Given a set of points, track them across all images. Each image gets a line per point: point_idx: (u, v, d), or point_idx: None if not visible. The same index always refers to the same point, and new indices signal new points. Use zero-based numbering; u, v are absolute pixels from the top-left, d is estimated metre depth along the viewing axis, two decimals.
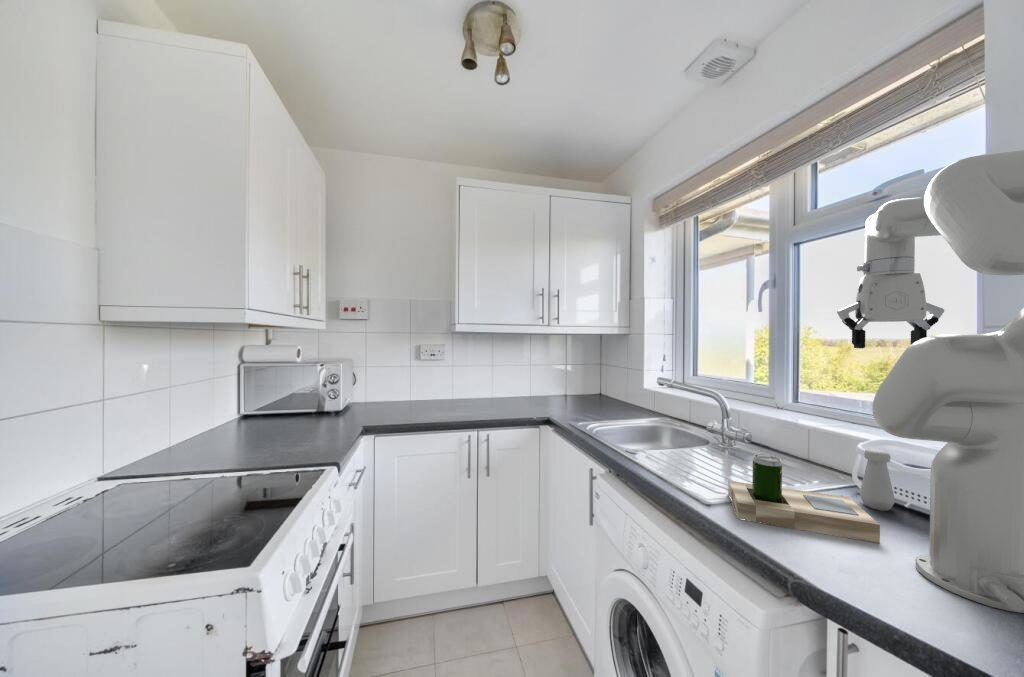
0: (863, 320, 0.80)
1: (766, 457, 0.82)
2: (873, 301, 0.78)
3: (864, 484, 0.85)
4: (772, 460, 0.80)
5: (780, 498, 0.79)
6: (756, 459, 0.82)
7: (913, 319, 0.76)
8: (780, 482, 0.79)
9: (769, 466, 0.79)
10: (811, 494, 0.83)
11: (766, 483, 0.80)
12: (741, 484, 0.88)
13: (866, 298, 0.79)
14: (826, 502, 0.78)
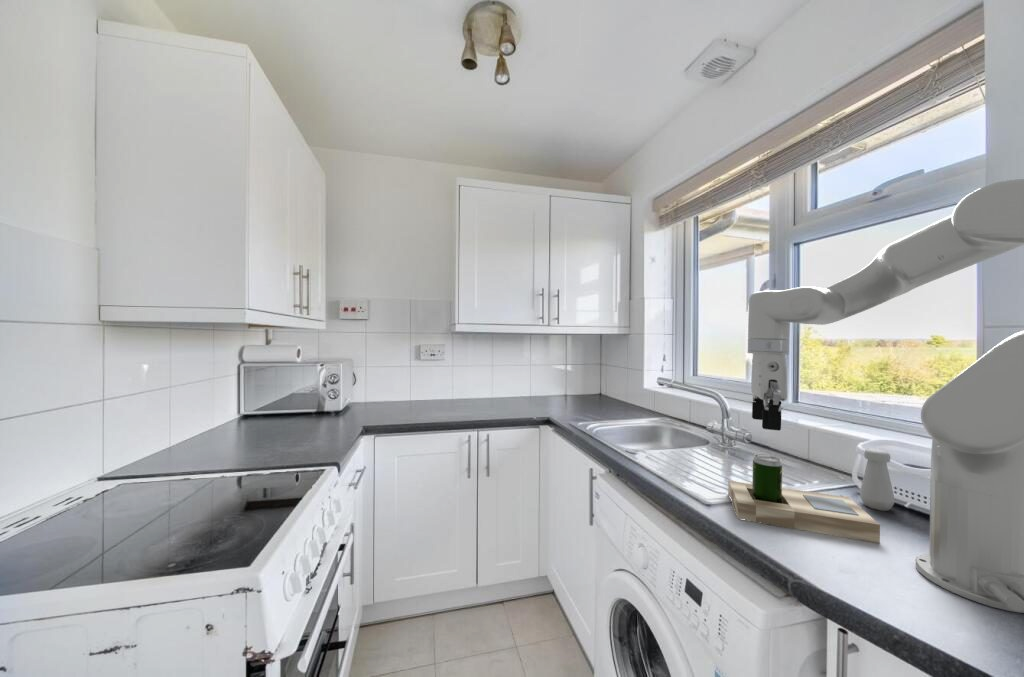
0: None
1: (766, 457, 0.82)
2: None
3: (864, 484, 0.85)
4: (772, 460, 0.80)
5: (780, 498, 0.79)
6: (756, 459, 0.82)
7: None
8: (780, 482, 0.79)
9: (770, 466, 0.79)
10: (811, 494, 0.83)
11: (766, 483, 0.80)
12: (741, 484, 0.88)
13: (786, 379, 0.76)
14: (826, 502, 0.78)
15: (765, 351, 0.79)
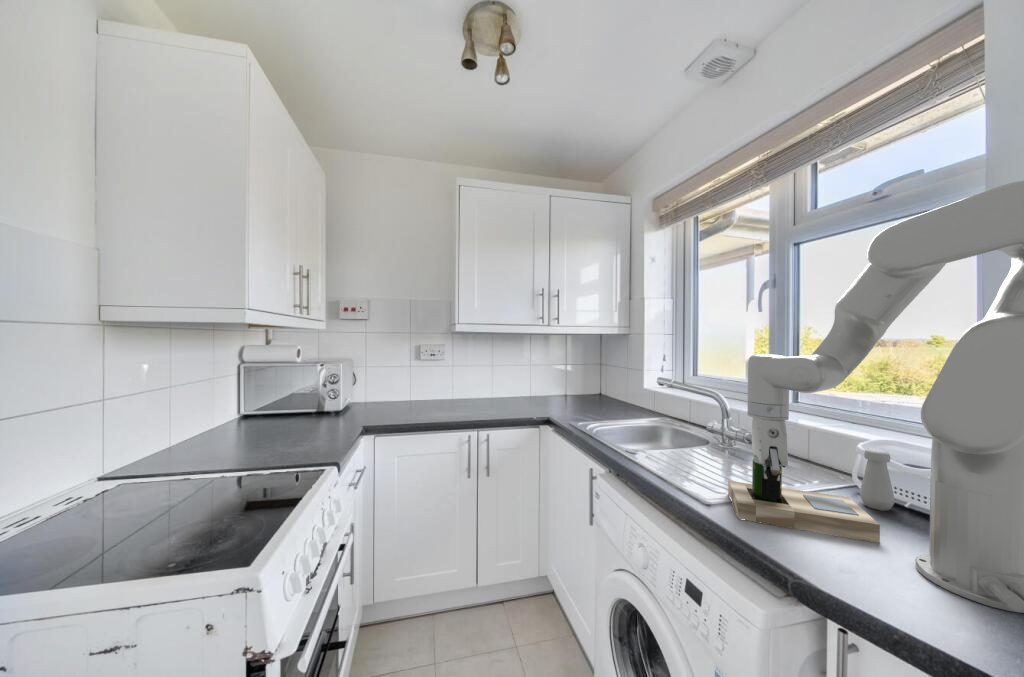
0: None
1: None
2: (786, 448, 0.77)
3: (864, 484, 0.85)
4: None
5: (780, 498, 0.79)
6: (756, 459, 0.82)
7: None
8: (780, 482, 0.79)
9: None
10: (811, 494, 0.83)
11: None
12: (741, 484, 0.88)
13: (786, 446, 0.76)
14: (826, 502, 0.78)
15: (765, 416, 0.79)
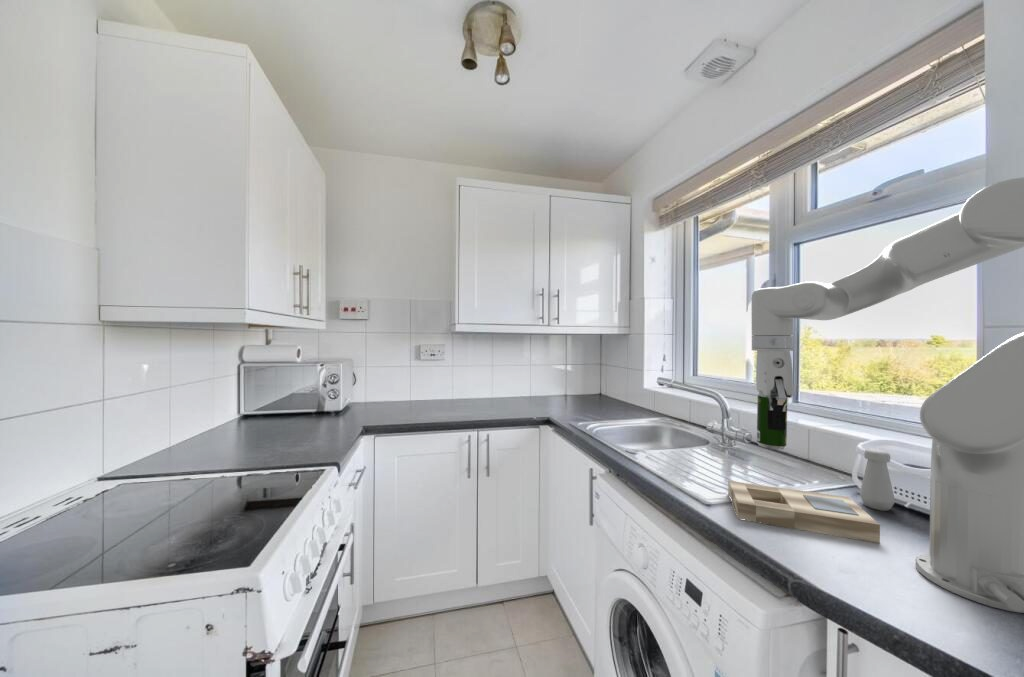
0: None
1: None
2: None
3: (864, 484, 0.85)
4: None
5: (785, 431, 0.79)
6: (761, 393, 0.81)
7: None
8: None
9: None
10: (811, 494, 0.83)
11: None
12: (741, 484, 0.88)
13: (792, 375, 0.76)
14: (826, 502, 0.78)
15: (770, 348, 0.78)
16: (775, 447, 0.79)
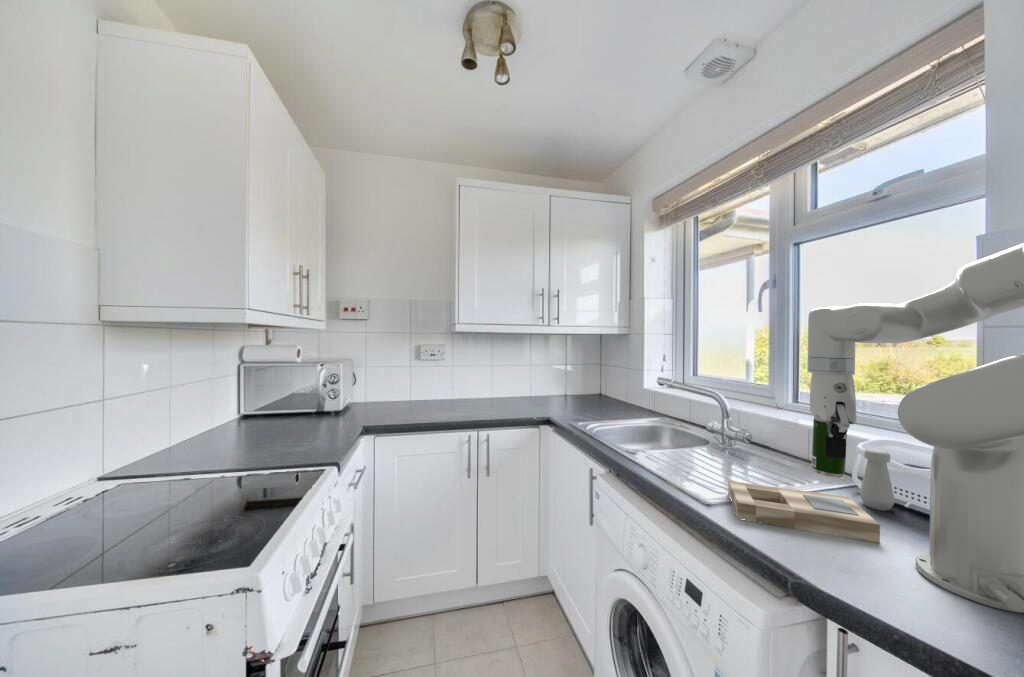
0: None
1: None
2: None
3: (864, 484, 0.85)
4: None
5: (844, 458, 0.75)
6: (818, 417, 0.77)
7: None
8: None
9: None
10: (811, 494, 0.83)
11: None
12: (741, 484, 0.88)
13: (855, 401, 0.72)
14: (826, 502, 0.78)
15: (830, 371, 0.74)
16: (833, 475, 0.75)
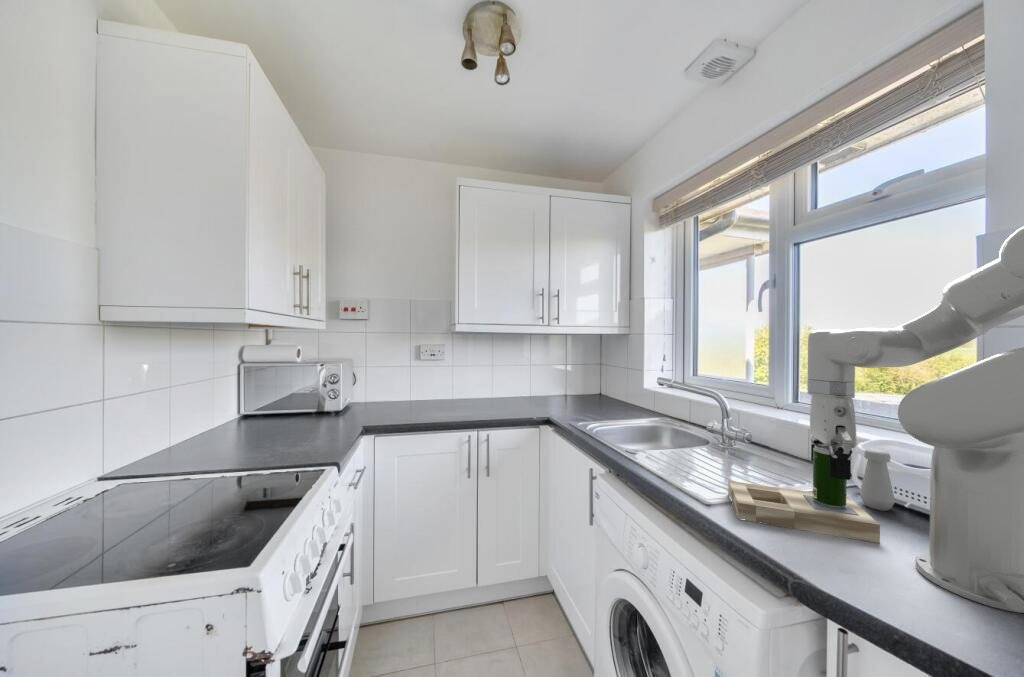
0: None
1: (828, 446, 0.78)
2: None
3: (864, 484, 0.85)
4: (836, 449, 0.75)
5: (845, 489, 0.75)
6: (818, 448, 0.77)
7: None
8: None
9: None
10: (811, 494, 0.83)
11: None
12: (741, 484, 0.88)
13: (855, 425, 0.72)
14: None
15: (830, 394, 0.74)
16: (835, 507, 0.75)
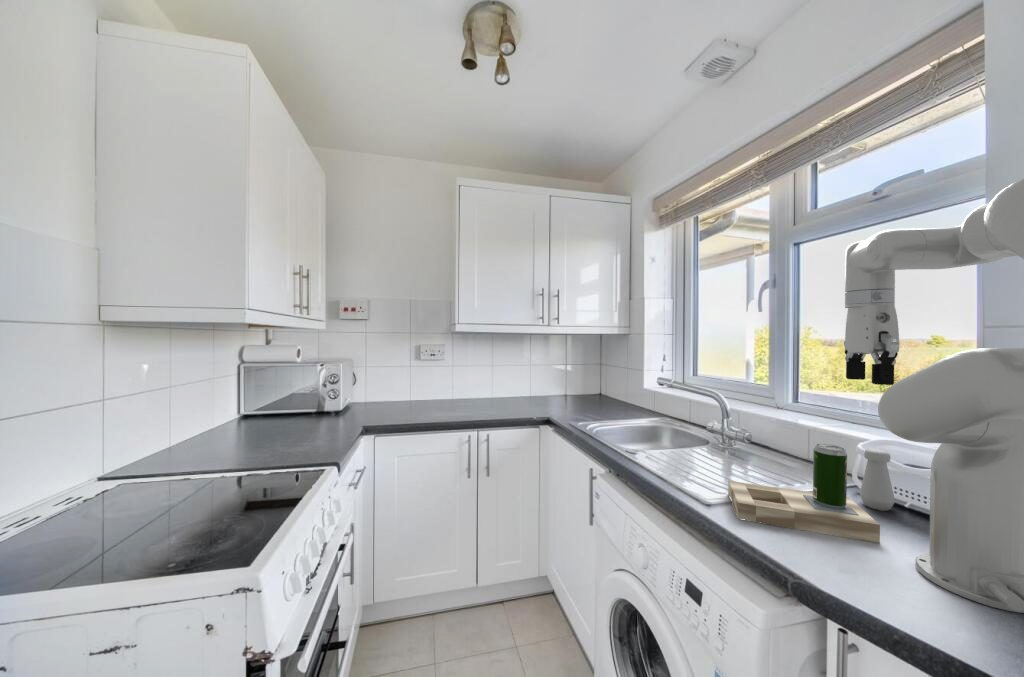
0: None
1: (828, 446, 0.78)
2: None
3: (864, 484, 0.85)
4: (836, 449, 0.75)
5: (845, 489, 0.75)
6: (818, 448, 0.77)
7: None
8: (845, 472, 0.75)
9: (834, 456, 0.75)
10: (811, 494, 0.83)
11: (830, 473, 0.75)
12: (741, 484, 0.88)
13: (898, 330, 0.72)
14: None
15: (872, 302, 0.74)
16: (835, 507, 0.75)
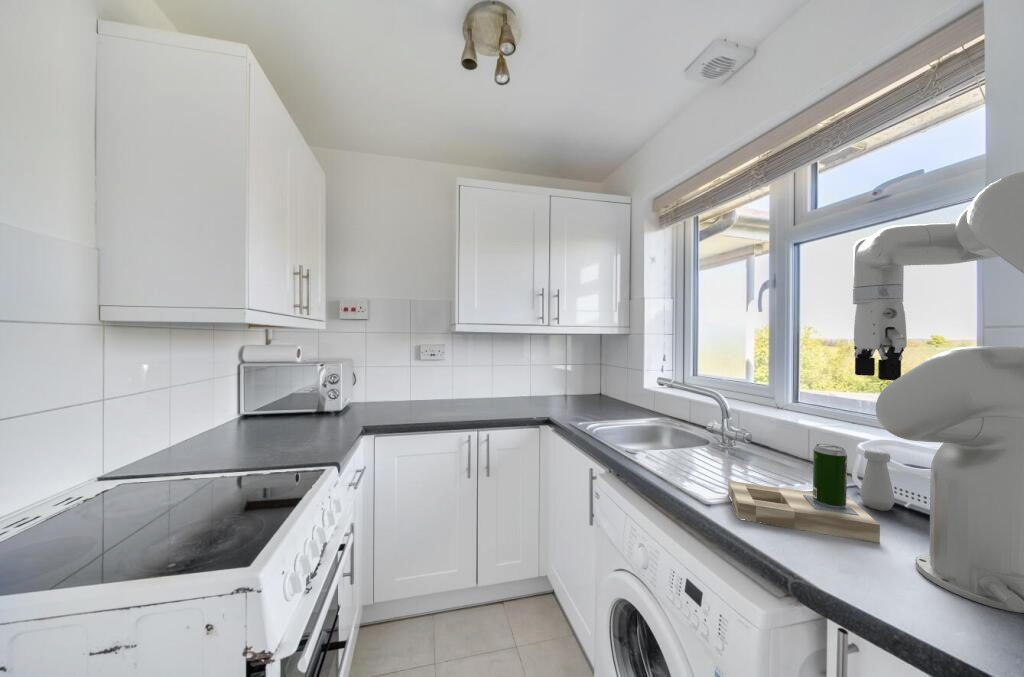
0: None
1: (828, 446, 0.78)
2: None
3: (864, 484, 0.85)
4: (836, 449, 0.75)
5: (845, 489, 0.75)
6: (818, 448, 0.77)
7: None
8: (845, 472, 0.75)
9: (834, 456, 0.75)
10: (811, 494, 0.83)
11: (830, 473, 0.75)
12: (741, 484, 0.88)
13: (905, 325, 0.72)
14: None
15: (879, 298, 0.75)
16: (834, 507, 0.75)
